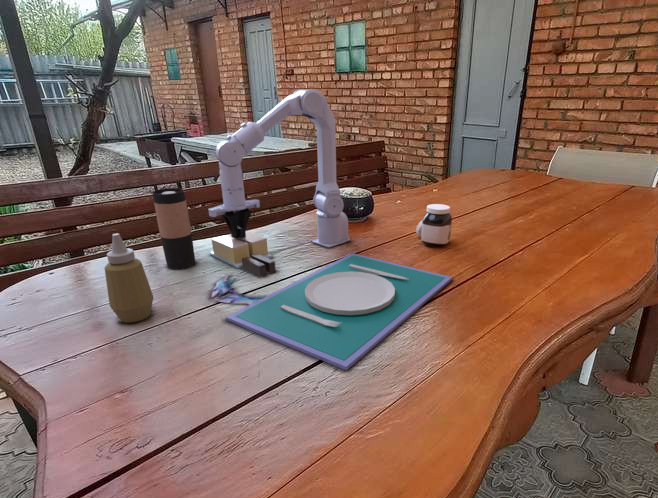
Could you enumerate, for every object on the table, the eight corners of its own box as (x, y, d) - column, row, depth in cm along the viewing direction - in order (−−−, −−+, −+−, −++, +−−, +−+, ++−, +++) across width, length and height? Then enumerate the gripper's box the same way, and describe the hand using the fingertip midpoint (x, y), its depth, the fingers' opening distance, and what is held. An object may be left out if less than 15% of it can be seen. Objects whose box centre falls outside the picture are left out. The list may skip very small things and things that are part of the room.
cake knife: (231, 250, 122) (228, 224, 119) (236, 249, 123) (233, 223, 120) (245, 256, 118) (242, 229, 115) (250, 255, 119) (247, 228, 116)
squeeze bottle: (113, 329, 84) (90, 243, 76) (114, 312, 90) (92, 231, 83) (158, 320, 87) (139, 237, 80) (155, 304, 94) (138, 225, 86)
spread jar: (441, 250, 125) (444, 212, 120) (406, 244, 130) (408, 207, 126) (455, 239, 134) (459, 203, 130) (422, 233, 140) (425, 199, 135)
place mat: (346, 370, 71) (346, 359, 71) (226, 320, 87) (225, 310, 86) (451, 280, 106) (452, 271, 105) (352, 255, 121) (352, 248, 120)
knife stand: (258, 264, 115) (257, 253, 114) (275, 271, 110) (274, 261, 109) (242, 268, 112) (241, 258, 111) (260, 277, 107) (259, 266, 106)
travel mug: (159, 267, 113) (144, 192, 105) (180, 257, 120) (168, 186, 112) (182, 271, 111) (168, 195, 103) (202, 261, 117) (191, 189, 109)
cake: (243, 245, 129) (241, 228, 127) (272, 257, 120) (271, 239, 118) (210, 254, 122) (207, 237, 120) (238, 268, 112) (236, 249, 110)
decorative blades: (195, 283, 102) (233, 273, 108) (195, 286, 103) (234, 275, 109) (231, 312, 89) (273, 298, 95) (232, 316, 89) (273, 302, 95)
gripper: (215, 195, 106) (222, 246, 111) (264, 186, 115) (268, 233, 121) (201, 190, 110) (209, 240, 116) (249, 182, 120) (254, 228, 125)
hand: (238, 236), depth 119 cm, fingers closed on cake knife, 2 cm apart
